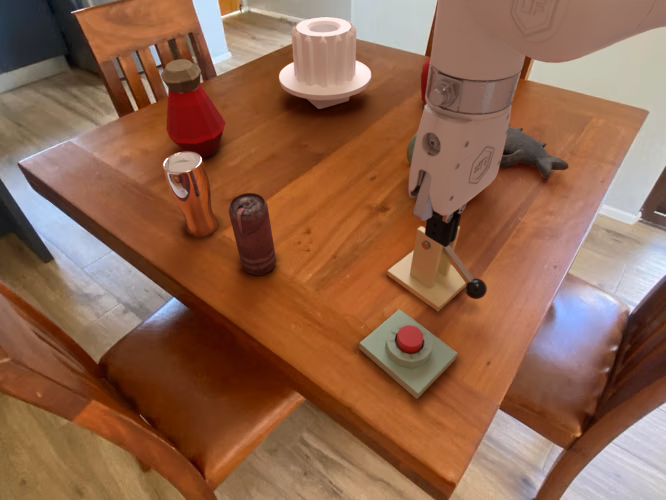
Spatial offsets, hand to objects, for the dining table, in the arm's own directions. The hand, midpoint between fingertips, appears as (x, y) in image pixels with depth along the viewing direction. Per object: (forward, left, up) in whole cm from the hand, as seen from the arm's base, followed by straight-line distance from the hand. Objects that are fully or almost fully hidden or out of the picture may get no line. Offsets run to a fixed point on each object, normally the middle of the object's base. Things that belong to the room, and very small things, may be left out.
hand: (439, 237), depth 50 cm
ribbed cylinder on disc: (+68, -44, -22) cm, 84 cm away
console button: (-1, +3, -18) cm, 19 cm away
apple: (+43, -62, -22) cm, 79 cm away
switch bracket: (+6, -11, -21) cm, 25 cm away
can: (+29, +8, -22) cm, 37 cm away
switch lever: (+3, -11, -15) cm, 19 cm away
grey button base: (-1, +3, -21) cm, 22 cm away
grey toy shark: (+17, -53, -22) cm, 60 cm away
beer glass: (+45, +10, -22) cm, 51 cm away
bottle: (+70, -5, -22) cm, 74 cm away
